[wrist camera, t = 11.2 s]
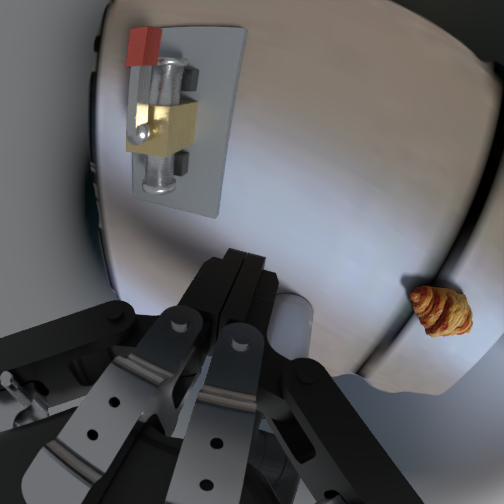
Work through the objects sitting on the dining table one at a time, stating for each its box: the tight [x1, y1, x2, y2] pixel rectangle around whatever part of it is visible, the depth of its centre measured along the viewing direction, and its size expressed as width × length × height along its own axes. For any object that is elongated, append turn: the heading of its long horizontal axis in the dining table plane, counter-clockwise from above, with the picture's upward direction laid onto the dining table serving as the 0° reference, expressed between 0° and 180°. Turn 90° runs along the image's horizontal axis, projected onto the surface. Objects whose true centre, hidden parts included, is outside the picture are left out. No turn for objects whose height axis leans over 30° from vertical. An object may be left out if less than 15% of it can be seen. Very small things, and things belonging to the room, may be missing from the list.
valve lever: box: [126, 26, 162, 145], centre depth 22 cm, size 14×3×3 cm, turn 170°
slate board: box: [133, 27, 248, 219], centre depth 34 cm, size 28×15×2 cm, turn 170°
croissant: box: [409, 286, 473, 337], centre depth 39 cm, size 21×10×8 cm, turn 67°
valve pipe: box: [126, 57, 200, 195], centre depth 30 cm, size 18×6×8 cm, turn 170°
